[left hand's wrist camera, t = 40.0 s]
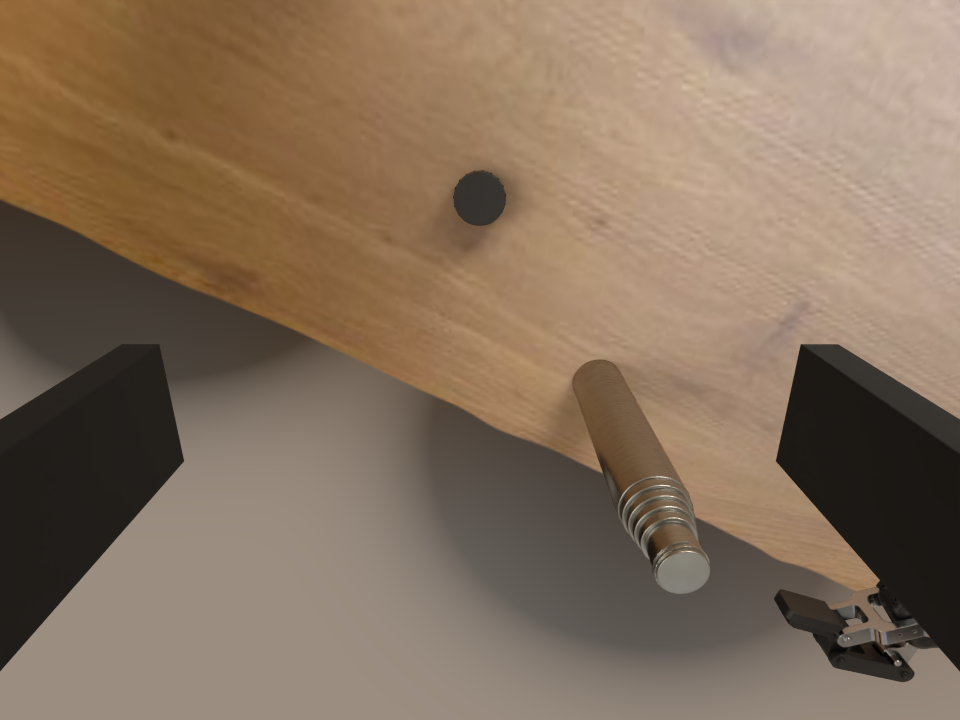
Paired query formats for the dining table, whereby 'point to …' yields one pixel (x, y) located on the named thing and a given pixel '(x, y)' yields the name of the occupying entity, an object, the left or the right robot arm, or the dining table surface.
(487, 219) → the cap
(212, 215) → the dining table surface
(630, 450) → the bottle
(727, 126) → the dining table surface
